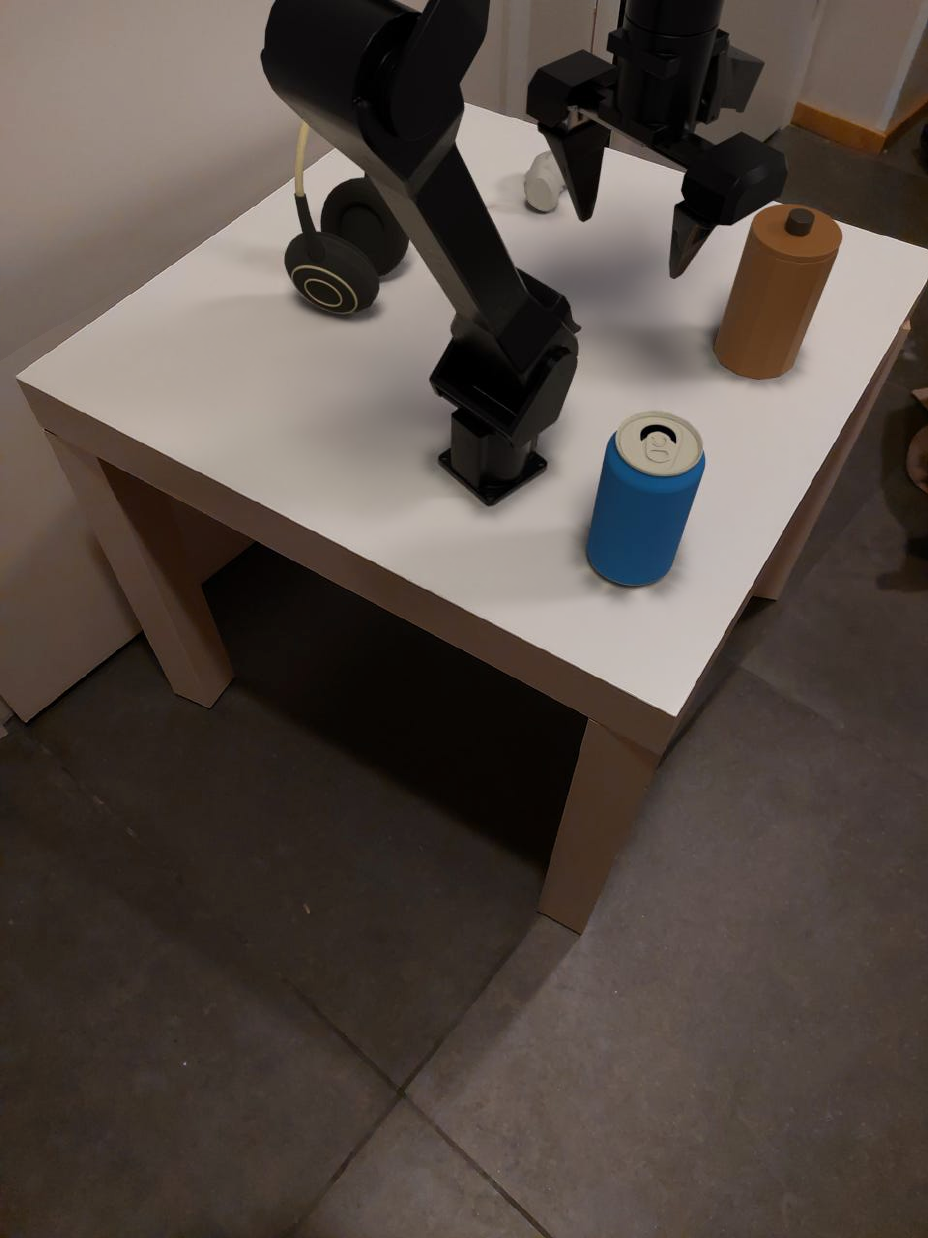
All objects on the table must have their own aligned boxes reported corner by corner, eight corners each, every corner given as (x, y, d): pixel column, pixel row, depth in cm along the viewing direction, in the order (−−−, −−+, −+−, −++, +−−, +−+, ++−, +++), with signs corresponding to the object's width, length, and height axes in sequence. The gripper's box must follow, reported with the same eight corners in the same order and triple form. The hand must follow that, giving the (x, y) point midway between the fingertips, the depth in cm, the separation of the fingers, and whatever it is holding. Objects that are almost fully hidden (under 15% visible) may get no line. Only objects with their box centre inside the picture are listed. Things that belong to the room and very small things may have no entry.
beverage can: (670, 527, 69) (707, 409, 59) (673, 595, 66) (713, 483, 56) (586, 520, 69) (609, 402, 59) (584, 587, 66) (608, 474, 56)
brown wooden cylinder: (731, 383, 78) (777, 246, 67) (703, 331, 82) (742, 194, 71) (806, 373, 79) (864, 236, 68) (775, 322, 83) (825, 185, 72)
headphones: (424, 256, 88) (418, 30, 71) (362, 350, 80) (340, 121, 63) (344, 237, 89) (320, 11, 73) (275, 327, 82) (231, 98, 65)
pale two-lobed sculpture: (542, 181, 97) (586, 178, 95) (512, 218, 93) (557, 216, 91) (534, 139, 94) (579, 136, 92) (502, 175, 90) (549, 173, 88)
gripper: (880, 30, 54) (796, 262, 67) (647, -69, 61) (613, 156, 74) (763, 91, 49) (698, 326, 62) (528, -24, 57) (514, 207, 70)
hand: (629, 246), depth 67 cm, fingers open, 9 cm apart
